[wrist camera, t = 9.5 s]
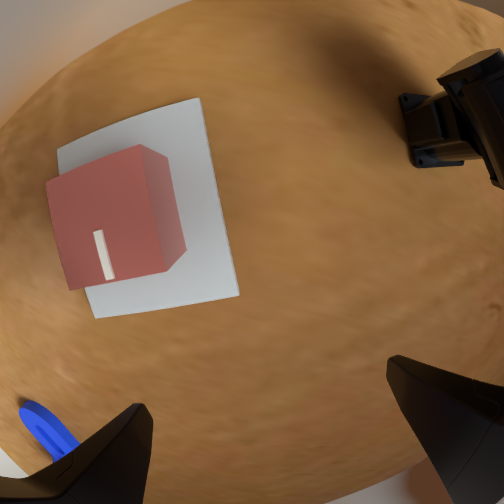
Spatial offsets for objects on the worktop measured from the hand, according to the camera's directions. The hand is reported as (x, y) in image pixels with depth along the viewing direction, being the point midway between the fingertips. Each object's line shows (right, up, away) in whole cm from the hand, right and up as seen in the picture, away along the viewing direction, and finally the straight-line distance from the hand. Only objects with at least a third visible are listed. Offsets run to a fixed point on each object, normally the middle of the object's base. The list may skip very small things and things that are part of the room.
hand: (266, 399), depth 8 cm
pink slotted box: (-9, +8, +9) cm, 15 cm away
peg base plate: (-9, +8, +10) cm, 16 cm away
